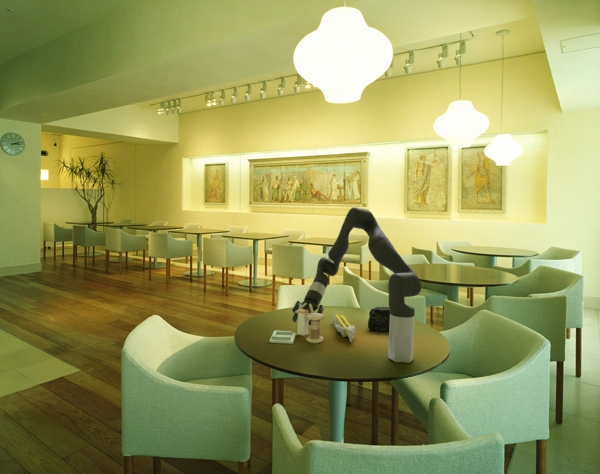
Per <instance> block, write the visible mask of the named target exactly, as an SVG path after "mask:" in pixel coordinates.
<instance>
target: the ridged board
mask: <svg viewBox="0 0 600 474" xmlns="http://www.w3.org/2000/svg"><path fill="white" fill-rule="evenodd" d="M296 335H297V333H296V332H294V331H293V330H292V331H291V330H274V331H273V332H272V335H271V336H270V339H269V343H271V344H291V345H292V344H294V342H295V339H296V337H297V336H296Z"/></svg>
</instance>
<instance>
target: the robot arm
mask: <svg viewBox="0 0 600 474" xmlns="http://www.w3.org/2000/svg"><path fill="white" fill-rule="evenodd" d="M353 229H358V230H363V231H364V232H365V233H366V234H367V236H368V241H367V247H368V248H367V249H368V250H369V252H370V254H371V255H372V257H373V258H374V260H375V261H376V262H377V263H379V264H380V265H381V266H383V267H384V268H386V269H388V270H389V271H391V272H392V273H393V274H391V275H390V277H389V279H388V307H389V308H390V325H389V331H388V352H387V353H388V359H390V360H392V361H393V362H394V363H410V364H411V362H412V361H413V360H414V359H413V358H414V335H415V319H416V318H415V317H416V315H415V314H416V313H415V311H416V310H415V308H414V307H413V306H412V305H408V304H406V302H405V298H409V297H417V296H418V295H419V294H420V293H421V291H422V283H421V281H420V279H419V277H418V275H417V273H416V272H415V271H413V269H412V268H411V267H410V266H409V265H408V264H407V262H405V260H404V259H403V258H402V256H401V255H400V254H399V252H398V251H397V250H396V248H395V246H394V245H393V244H392V242H391V241H390V240H389V238H388V236H386V235H385V233H384V231H383V229H381V227H380V225H379V223H378V221H377V219H376V218H375V216H374V214H373V213H372V211H371V210H369V209H365V208H361V207H355V206H354V207H352V208H349V210H348V212H347V214H346V215H345V218H344V220H343V223H342V225H341V227H340V230H339V233H338V236H337V238H336V240H335V241H334V243H333V245H332V247H330V250H329V251H328V253H327V255H328V257H329V258H328V257H326V256H324V257H321V258H320V259H319V260H318V263H317V265H316V266H317V267H316V274H315V277H314V278H313V281H312V283H311V284H310V286H309V288H308V290H307V292H306V294H305V296H304V299H303V301H299V300H296V302H295V304H294V306H293V308H292V309H291V311H292V312H293V316H292V318H291V320H292V322H293V323H296V322H298V310H301V309H305V310H309V312H308V314H310V313H320V314H323V312H324V310H325V308H324V306H323V304H321V302H322V299H323V297H324V296H325V292H326V290H327V287H328V285H329V283H330V279H329V277H334V276H336V275H337V274H338V272H339V268H340V264H341V261H342V260H343V258H344V256H345V254H346V253H347V251H348V250H349V245H350V241H349V240H350V238H349V237H350V233H351V232H352V230H353ZM328 276H329V277H328ZM316 311H317V312H316ZM308 326H310V327H311V319H308Z"/></svg>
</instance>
